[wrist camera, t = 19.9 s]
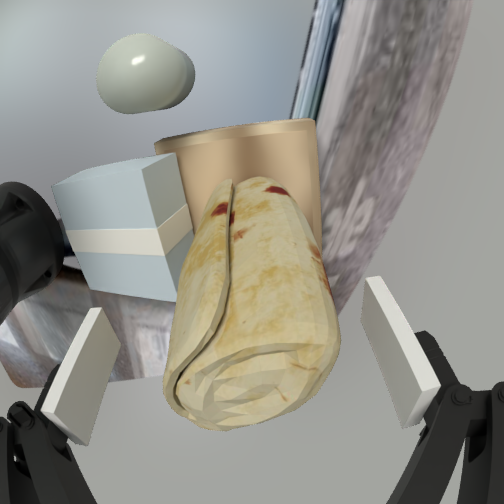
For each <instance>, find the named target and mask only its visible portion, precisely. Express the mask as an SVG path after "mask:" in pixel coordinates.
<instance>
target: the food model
mask: <svg viewBox="0 0 504 504" xmlns="http://www.w3.org/2000/svg"><path fill="white" fill-rule="evenodd" d="M340 344H341V336H340V328H339V323H338V317H337V313H336V308H335V304H334V300H333V296H332V293H331V289H330V285H329V282H328V278H327V274H326V271H325V267H324V264H323V260H322V256H321V253H320V250H319V248H318V245H317V243H316V240H315V238H314V235H313V233H312V230H311V228H310V226H309V224H308V222H307V220H306V218H305V216H304V214H303V213H302V211H301V209H300V208H299V206H298V204H297V203H296V201H295V199H294V198H293V197H292V195H291V194H290V193H289V191H288V190H287V189H286V188H285V187H284V186H283V185H282V184H280V183H278V182H277V181H275V180H273V179H271V178H266V177H261V176H259V177H254V178H250V179H248V180H245V181H243V182H241V183H239V184H237V185H236V186H234V184H233V182H232V179H226V180H225V181H223V182H222V183H220V184H219V185H218V186H217V187H216V188H215V190H214V191H213V193H212V194H211V196H210V198H209V200H208V202H207V204H206V206H205V208H204V211H203V214H202V218H201V220H200V223H199V226H198V229H197V231H196V234H195V237H194V239H193V242H192V244H191V247H190V249H189V251H188V254H187V256H186V258H185V261H184V263H183V266H182V269H181V273H180V278H179V284H178V291H177V299H176V307H175V313H174V318H173V323H172V328H171V335H170V342H169V350H168V358H167V363H166V368H165V373H164V377H163V394H164V396H165V398H166V400H167V402H168V404H169V405H170V406H171V408H172V409H173V410H174V411H175V412H176V413H177V414H179V415H180V416H182V417H185V418H187V419H189V420H190V421H191V422H193V423H194V424H196V425H197V426H199V427H201V428H205V429H208V430H217V431H229V430H232V429H234V428H239V427H244V426H249V425H253V424H258V423H262V422H265V421H268V420H271V419H273V418H276V417H278V416H281V415H284V414H286V413H289V412H292V411H294V410H296V409H297V408H299V407H300V406H301V405H303V404H304V403H306V402H307V401H308V400H309V399H311V398H312V397H313V396H315V395H316V394H317V393H318V391H319V389H320V388H321V386H322V385H323V383H324V382H325V380H326V378H327V376H328V375H329V373H330V372H331V370H332V368H333V366H334V364H335V362H336V360H337V357H338V355H339V350H340Z"/></svg>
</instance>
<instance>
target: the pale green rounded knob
mask: <svg viewBox="0 0 504 504" xmlns="http://www.w3.org/2000/svg"><path fill="white" fill-rule="evenodd" d="M194 81H195V70H194V65H193V63H192V61H191V59H190V58H189V57H188V56H187V54H186V53H184V52H183V51H181V50H180V49H178V48H176V47H174V46H173V45H171V44H169V43H167V42H165V41H163V40H162V39H160V38H158V37H156V36H153V35H150V34H143V33H140V34H132V35H129V36H126V37H124V38H122V39H120V40H119V41H117V42H115V43H114V44H113V45H112V46H111V47H110V48H109V49H108V50H107V51H106V53H105V54H104V56H103V57H102V59H101V61H100V64H99V66H98V70H97V77H96V82H97V89H98V92H99V95H100V97H101V98H102V100H103V101H104V103H105V104H106V105H107V106H108V107H110V108H111V109H113V110H114V111H117V112H120V113H123V114H135V113H142V112H148V111H156V110H162V109H168V108H171V107H174V106H176V105H177V104H179V103H181V102H182V101H183V100H184V99H185V98H186V97H187V96H188V95H189V93H190V92H191V89H192V88H193V84H194Z"/></svg>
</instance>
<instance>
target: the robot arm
mask: <svg viewBox="0 0 504 504" xmlns="http://www.w3.org/2000/svg"><path fill="white" fill-rule="evenodd" d="M63 261H64V242H63V237H62V233H61V229H60V227H59V224H58V222H57V219H56V217H55V215H54V213H53V212H52V210H51V209H50V207H49V206H48V204H47V203H46V202H45V200H44V199H43V198H42V197H41V196H40V195H39V194H38V193H37V192H36V191H34V190H33V189H32V188H30V187H29V186H27V185H25V184H22V183H19V182H6V183H3V184H1V185H0V325H1V324H2V323H3V321H4V320H5V319H6V317H7V316H8V315H9V313H10V312H11V310H12V309H13V308H14V307H15V305H16V304H17V303H18V302H20V301H22V300H24V299H26V298H28V297H29V296H31V295H33V294H35V293H37V292H39V291H41V290H43V289H44V288H46V287H47V286H48V285H49V284H50V283H51V282H52V281H53V280H54V278H55V277H56V276H57V275H58V273H59V272H60V270H61V268H62V265H63ZM361 323H362V325H363V327H364V330H365V332H366V335H367V337H368V340H369V342H370V344H371V347H372V349H373V352H374V354H375V357H376V359H377V362H378V364H379V367H380V369H381V372H382V375H383V377H384V380H385V382H386V385H387V388H388V391H389V393H390V396H391V398H392V401H393V404H394V407H395V410H396V412H397V415H398V418H399V421H400V424H401V426H402V429H404V428H407V427H410V426H414V425H417V424H419V423H420V421H421V420H422V418H423V417H424V420H425V422H426V426H425V427H424V428H423V430H422V431H421V433H420V436H421V437H420V439H419V441H418V443H417V445H416V448H415V450H414V452H413V454H412V456H411V458H410V461H409V463H408V465H407V467H406V469H405V471H404V473H403V474H402V477H401V478H400V480H399V482H398V484H397V486H396V488H395V490H394V491H393V493H392V495H391V496H390V498H389V500H388V502H387V503H386V504H439V503H440V501H441V499H442V497H443V495H444V492H445V490H446V488H447V486H448V483H449V480H450V478H451V476H452V473H453V471H454V468H455V466H456V463H457V460H458V457H459V455H460V451H461V449H462V446H463V443H464V439H465V450H464V460H463V468H462V476H461V483H460V489H459V495H458V501H457V504H504V382H499V383H497V384H496V385H495V386H494V387H493V389H492V390H486V391H472V390H471V389H470V388H469V387H467V386H465V385H462V384H460V382H459V381H458V379H457V377H456V376H455V374H454V372H453V370H452V368H451V367H450V364H449V363H448V361H447V359H446V357H445V356H444V355H443V352H442V351H441V349H440V348H439V345H438V343H437V342H436V340H435V338H434V337H433V336H432V335H430V334H429V333H428V332H426V331H421V332H417V333H413V331H412V329H411V327H410V326H409V324H408V322H407V320H406V318H405V317H404V315H403V313H402V312H401V310H400V308H399V306H398V305H397V303H396V302H395V300H394V298H393V296H392V295H391V293H390V291H389V290H388V288H387V286H386V285H385V283H384V281H383V280H382V278H381V277H380V276H376V277H369V278H366V279H365V288H364V297H363V307H362V314H361ZM120 347H121V343H120V341H119V340H118V338H117V336H116V334H115V332H114V330H113V328H112V326H111V324H110V322H109V321H108V319H107V317H106V315H105V313H104V310H103V308H102V307H101V308H90V310H89V312H88V313H87V315H86V317H85V319H84V321H83V323H82V324H81V326H80V328H79V330H78V332H77V334H76V336H75V338H74V340H73V342H72V344H71V346H70V348H69V350H68V352H67V354H66V356H65V358H64V360H63V362H62V364H61V365H60V364H58V365H57V366H56V367H55V368H54V369H53V370H52V371H51V373H50V375H49V377H48V379H47V382H46V384H45V386H44V389H43V390H42V392H41V395H40V397H39V399H38V401H37V404H36V406H35V409H34V411H33V410H32V409H31V408H30V407H29V406H28V405H27V404H26V403H25V402H24V401H18V402H15V403H14V404H13V405H12V406H11V407H10V408H9V410H8V413H7V419H9V420H10V421H11V422H12V423H9V422H8V421H7V420H6V419H5V418H4V417H0V504H97V503H96V501H95V499H94V497H93V495H92V493H91V491H90V489H89V487H88V485H87V483H86V481H85V479H84V477H83V475H82V473H81V471H80V469H79V466H78V464H77V462H76V460H75V458H74V455H73V453H72V450H71V448H70V446H69V445H68V443H67V439H68V438H69V439H70V440H71V441H73V442H74V443H75V444H79V445H84V446H88V444H89V441H90V437H91V433H92V430H93V427H94V424H95V420H96V417H97V414H98V411H99V407H100V404H101V401H102V398H103V395H104V392H105V389H106V386H107V383H108V380H109V378H110V375H111V372H112V369H113V366H114V363H115V361H116V358H117V355H118V352H119V350H120ZM14 456H16V462H15V461H14Z"/></svg>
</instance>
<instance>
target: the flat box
mask: <svg viewBox="0 0 504 504" xmlns="http://www.w3.org/2000/svg"><path fill="white" fill-rule="evenodd" d="M51 188H52V190H53V194H54V197H55V200H56V203H57V206H58V209H59V212H60V215H61V218H62V221H63V224H64V227H65V229H66V234H67V237H68V239H69V242H70V244H71V247H72V249H73V251H74V253H75V255H76V258H77V260H78V262H79V265H80V267H81V270H82V272H83V274H84V277H85V279H86V281H87V283H88V285H89V288H90V289H92V290H98V291H104V292H110V293H116V294H122V295H129V296H135V297H142V298H149V299H156V300H163V301H171V302H176V299H177V291H178V284H179V278H180V273H181V269H182V266H183V263H184V261H185V258H186V256H187V254H188V251H189V249H190V247H191V244H192V242H193V239H194V234H193V229H192V228H193V226H192V222H191V218H190V213H189V209H188V205H187V204H186V199H185V195H184V190H183V186H182V181H181V176H180V172H179V167H178V162H177V157H176V153H175V152H174V153H168V154H161V155H155V156H149V157H143V158H138V159H132V160H127V161H122V162H117V163H112V164H107V165H102V166H98V167H93V168H89V169H85V170H82V171H81V172H78V173H76V174H74V175H72V176H70V177H68V178H66V179H64V180H63V181H61V182H59V183H57V184H55V185H53V186H51Z"/></svg>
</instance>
